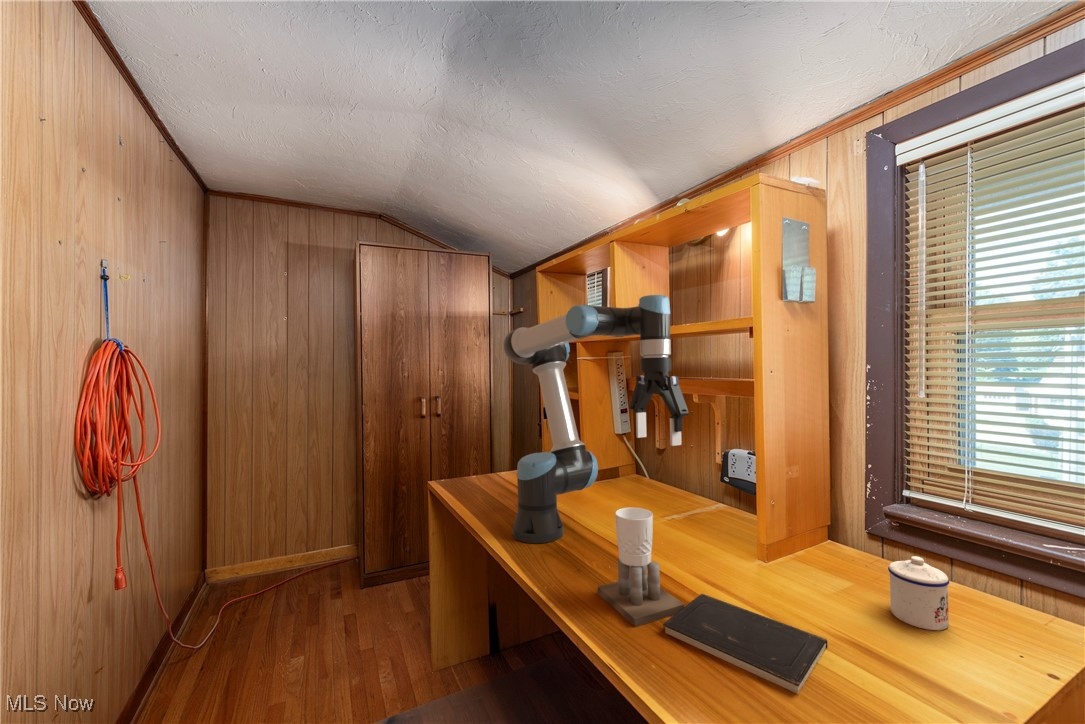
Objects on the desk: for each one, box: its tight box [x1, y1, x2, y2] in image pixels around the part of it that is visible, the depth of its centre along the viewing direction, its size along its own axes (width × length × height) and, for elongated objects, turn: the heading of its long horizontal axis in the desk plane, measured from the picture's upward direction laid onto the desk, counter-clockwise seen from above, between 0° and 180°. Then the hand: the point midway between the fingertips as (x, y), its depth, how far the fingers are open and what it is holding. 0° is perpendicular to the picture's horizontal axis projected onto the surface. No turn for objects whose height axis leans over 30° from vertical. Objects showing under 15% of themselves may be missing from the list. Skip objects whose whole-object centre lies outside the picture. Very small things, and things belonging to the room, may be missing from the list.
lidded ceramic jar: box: [887, 555, 950, 631], centre depth 88 cm, size 12×9×12 cm
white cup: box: [614, 507, 654, 567], centre depth 96 cm, size 8×8×10 cm
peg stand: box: [597, 558, 685, 628], centre depth 95 cm, size 14×12×8 cm
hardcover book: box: [662, 593, 829, 695], centre depth 82 cm, size 16×23×2 cm
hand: (657, 441), depth 114 cm, fingers open, 13 cm apart
